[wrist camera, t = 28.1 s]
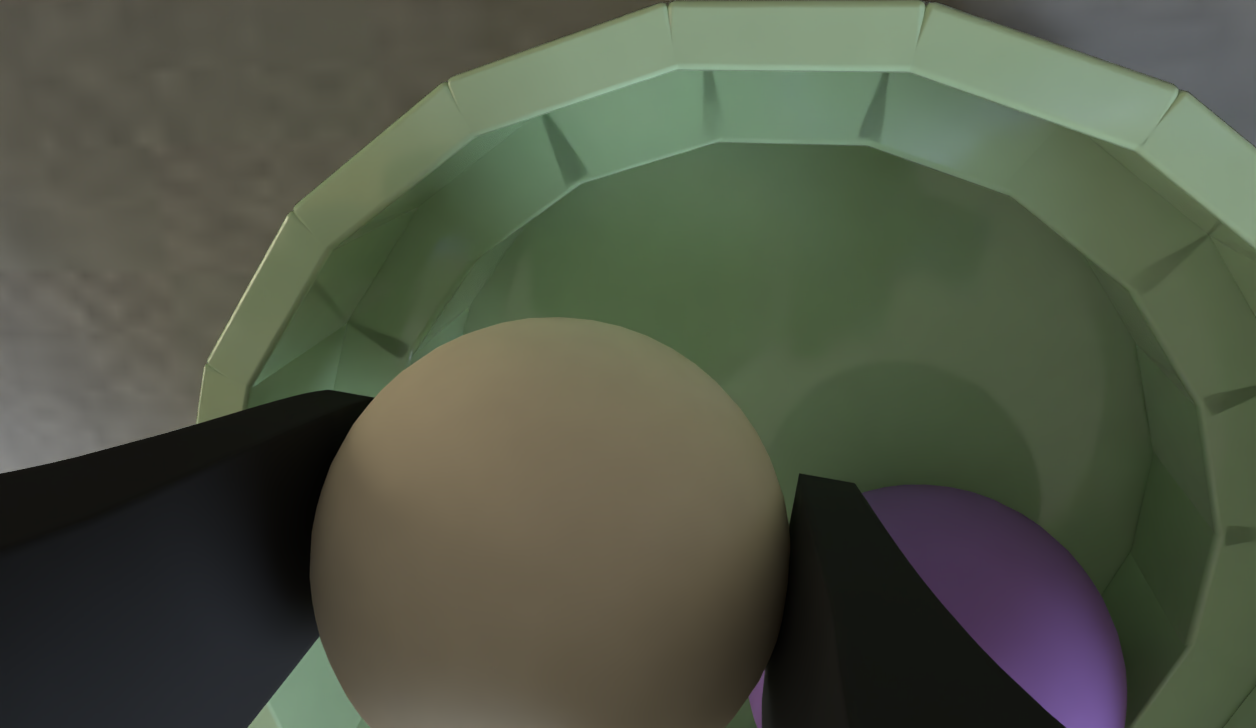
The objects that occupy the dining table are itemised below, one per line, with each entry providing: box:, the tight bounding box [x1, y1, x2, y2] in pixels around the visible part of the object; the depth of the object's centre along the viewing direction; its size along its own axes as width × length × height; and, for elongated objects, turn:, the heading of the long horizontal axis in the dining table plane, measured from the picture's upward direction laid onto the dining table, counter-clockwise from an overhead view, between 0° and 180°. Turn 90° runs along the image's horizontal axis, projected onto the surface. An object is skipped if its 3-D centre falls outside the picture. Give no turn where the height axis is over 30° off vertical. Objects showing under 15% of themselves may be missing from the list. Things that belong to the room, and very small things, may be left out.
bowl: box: [196, 0, 1256, 728], centre depth 13 cm, size 14×14×6 cm
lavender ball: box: [749, 484, 1127, 728], centre depth 13 cm, size 5×5×5 cm
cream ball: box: [310, 317, 790, 728], centre depth 10 cm, size 5×5×5 cm
